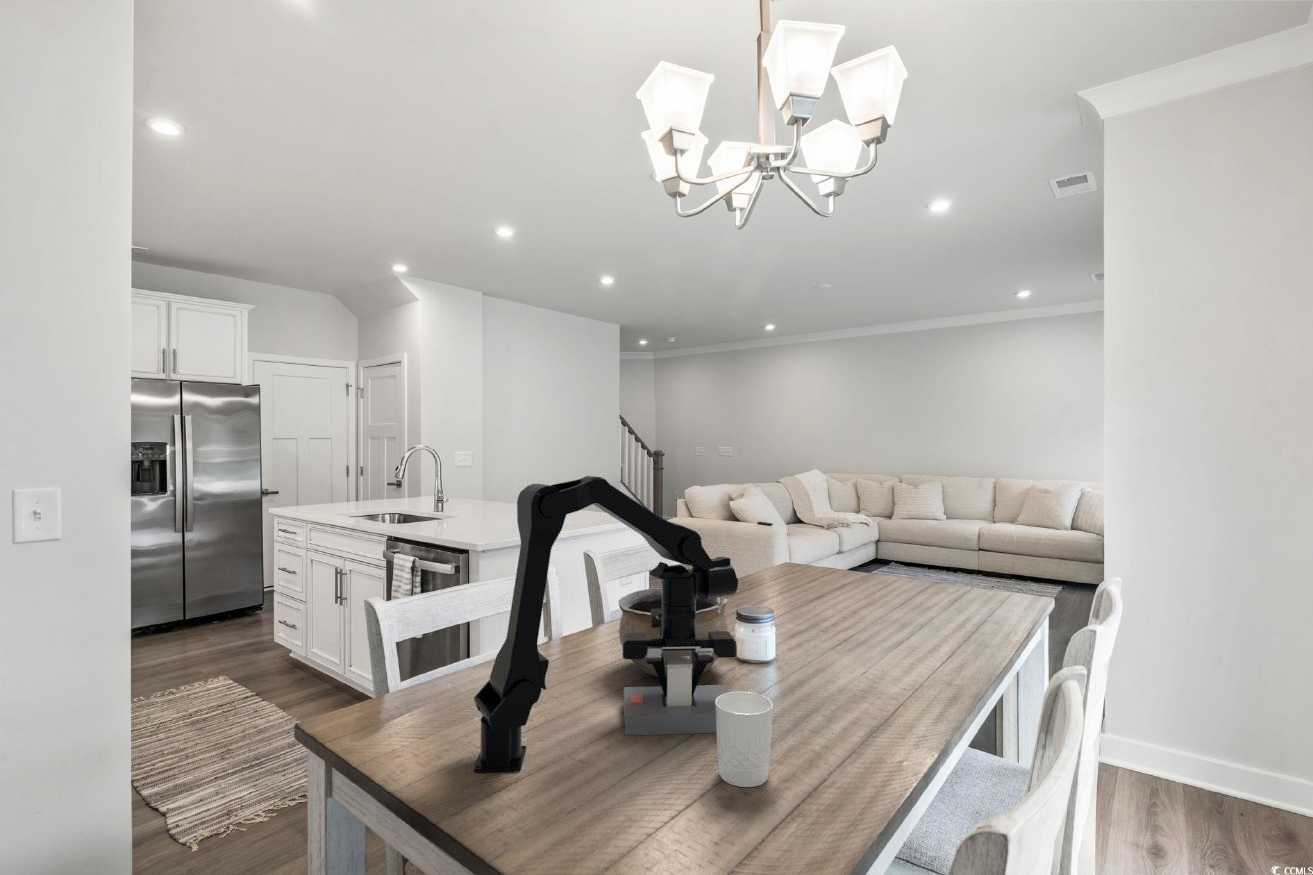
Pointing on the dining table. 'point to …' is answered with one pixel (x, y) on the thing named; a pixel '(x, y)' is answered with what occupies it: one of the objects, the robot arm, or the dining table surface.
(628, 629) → the ceramic bowl
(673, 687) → the plug
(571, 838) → the dining table surface
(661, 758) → the dining table surface
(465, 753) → the dining table surface
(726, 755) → the white cup
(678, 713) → the socket
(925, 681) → the dining table surface
